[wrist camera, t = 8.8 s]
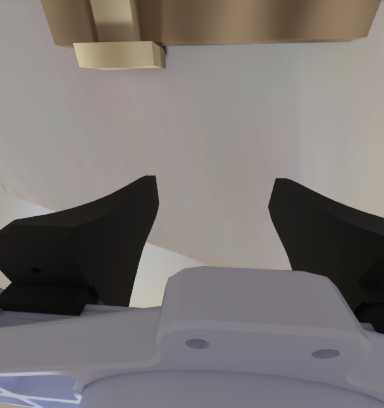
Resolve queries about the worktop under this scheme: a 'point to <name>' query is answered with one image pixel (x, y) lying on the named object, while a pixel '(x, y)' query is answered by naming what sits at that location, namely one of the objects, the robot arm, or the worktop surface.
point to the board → (222, 21)
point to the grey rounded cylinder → (119, 40)
